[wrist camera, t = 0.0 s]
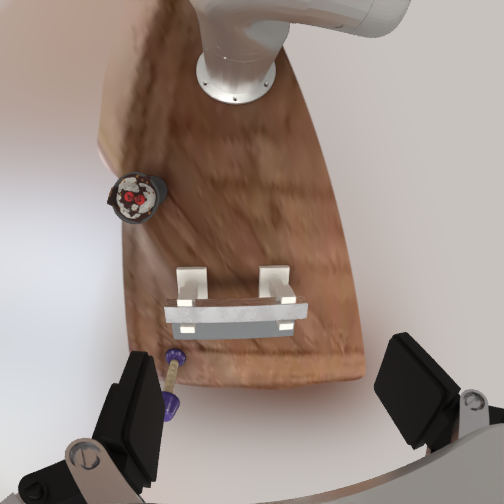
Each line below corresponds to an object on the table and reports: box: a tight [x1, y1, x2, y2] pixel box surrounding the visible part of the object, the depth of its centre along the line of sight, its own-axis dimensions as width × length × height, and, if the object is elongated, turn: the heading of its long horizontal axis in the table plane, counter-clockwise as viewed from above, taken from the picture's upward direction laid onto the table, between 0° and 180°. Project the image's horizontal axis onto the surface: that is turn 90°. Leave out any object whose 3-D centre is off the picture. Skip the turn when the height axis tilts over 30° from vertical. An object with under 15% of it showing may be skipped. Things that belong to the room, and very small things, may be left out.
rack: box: [177, 265, 296, 333], centre depth 43 cm, size 6×19×12 cm, turn 89°
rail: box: [164, 296, 308, 323], centre depth 39 cm, size 2×20×2 cm, turn 89°
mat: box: [172, 319, 295, 339], centre depth 50 cm, size 7×23×1 cm, turn 89°
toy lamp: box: [162, 349, 186, 422], centre depth 44 cm, size 5×5×17 cm
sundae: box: [107, 172, 167, 224], centre depth 35 cm, size 7×7×15 cm
